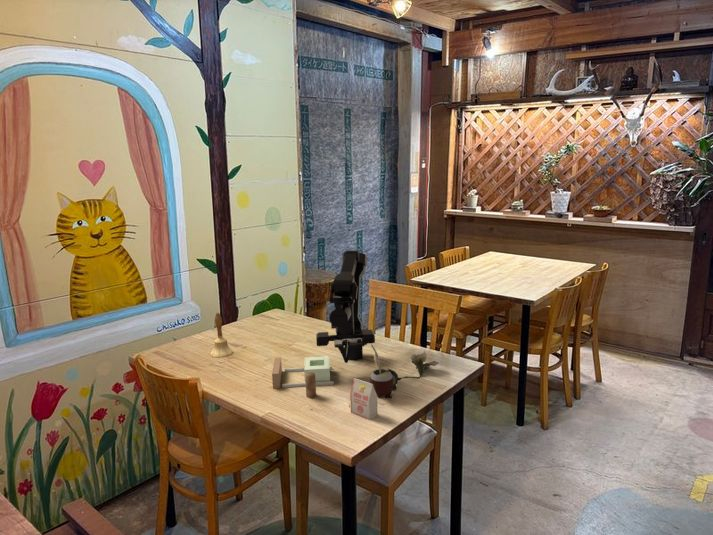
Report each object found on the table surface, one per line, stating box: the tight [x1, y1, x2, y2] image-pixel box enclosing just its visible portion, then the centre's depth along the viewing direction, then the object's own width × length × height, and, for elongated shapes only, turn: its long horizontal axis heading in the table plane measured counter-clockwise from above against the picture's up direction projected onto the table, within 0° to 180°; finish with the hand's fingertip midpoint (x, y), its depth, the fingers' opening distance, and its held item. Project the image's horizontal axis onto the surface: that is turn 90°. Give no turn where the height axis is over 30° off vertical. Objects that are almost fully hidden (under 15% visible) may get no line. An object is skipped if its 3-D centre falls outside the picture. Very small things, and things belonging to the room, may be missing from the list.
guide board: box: [271, 357, 335, 389], centre depth 168 cm, size 20×13×6 cm, turn 95°
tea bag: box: [349, 377, 378, 421], centre depth 146 cm, size 4×7×10 cm, turn 50°
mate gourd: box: [369, 344, 394, 400], centre depth 155 cm, size 8×8×15 cm
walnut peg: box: [304, 372, 317, 399], centre depth 156 cm, size 3×3×8 cm
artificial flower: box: [387, 350, 439, 391], centre depth 169 cm, size 9×22×10 cm, turn 130°
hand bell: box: [210, 312, 234, 358], centre depth 193 cm, size 8×8×16 cm
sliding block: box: [303, 355, 331, 383], centre depth 168 cm, size 8×10×5 cm
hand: (346, 362), depth 169 cm, fingers closed
